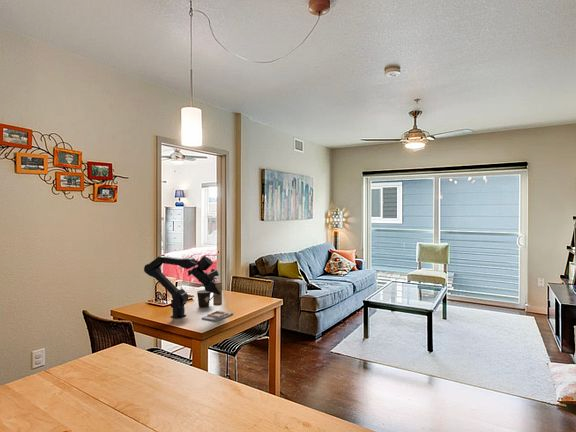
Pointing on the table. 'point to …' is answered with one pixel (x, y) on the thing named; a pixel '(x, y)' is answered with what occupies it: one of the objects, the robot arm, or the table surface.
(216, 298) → the walnut post
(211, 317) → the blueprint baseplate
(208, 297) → the coffee mug
